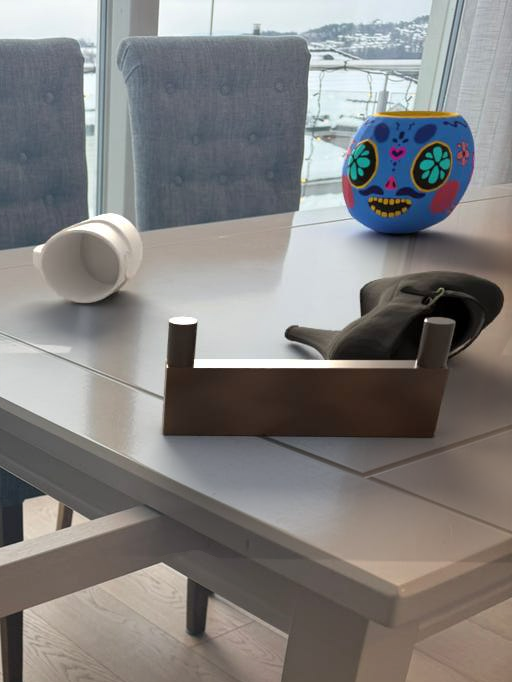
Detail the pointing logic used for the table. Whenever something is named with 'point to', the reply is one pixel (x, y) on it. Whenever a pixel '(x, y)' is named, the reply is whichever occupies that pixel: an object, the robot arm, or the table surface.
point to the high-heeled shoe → (408, 316)
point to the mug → (90, 258)
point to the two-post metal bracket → (304, 391)
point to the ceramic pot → (407, 169)
